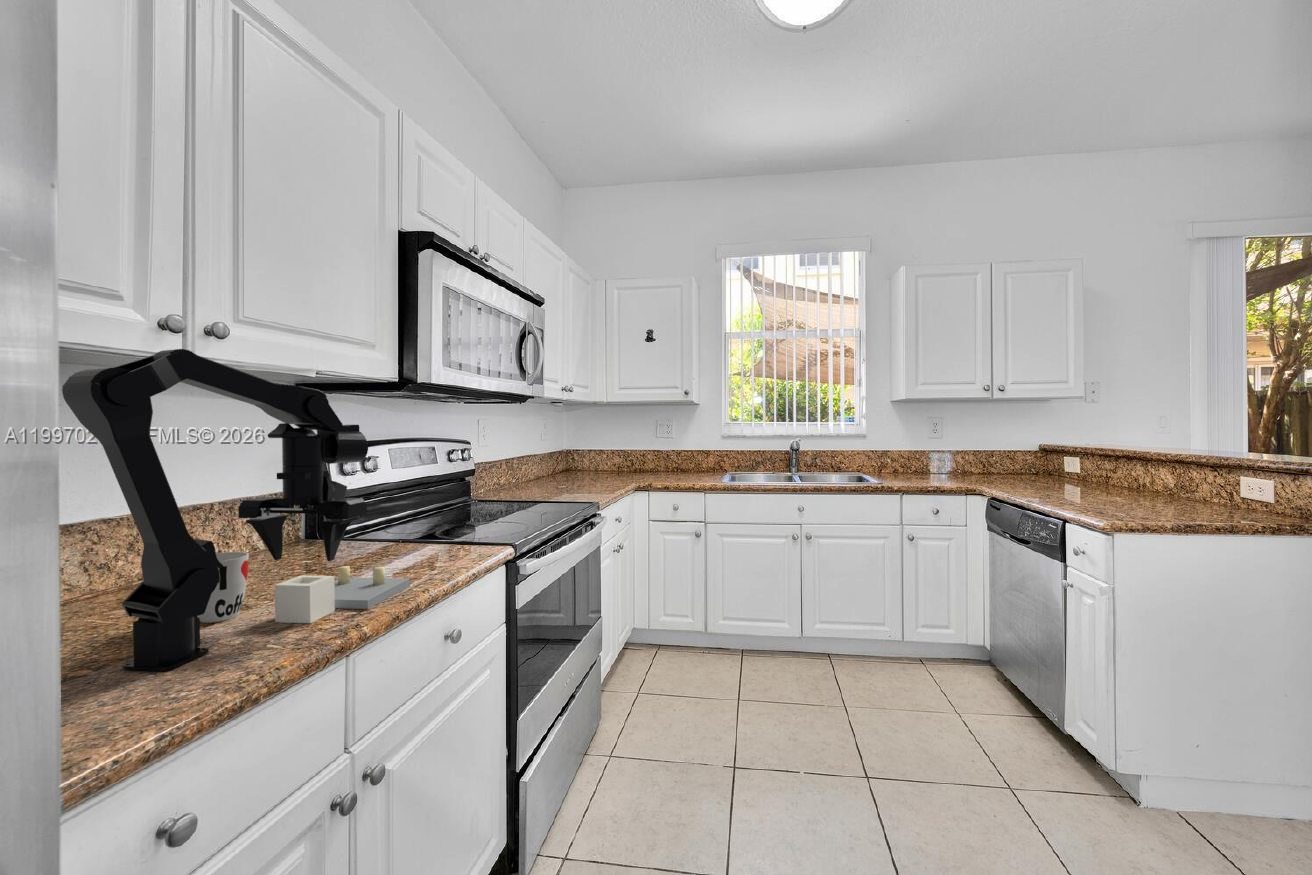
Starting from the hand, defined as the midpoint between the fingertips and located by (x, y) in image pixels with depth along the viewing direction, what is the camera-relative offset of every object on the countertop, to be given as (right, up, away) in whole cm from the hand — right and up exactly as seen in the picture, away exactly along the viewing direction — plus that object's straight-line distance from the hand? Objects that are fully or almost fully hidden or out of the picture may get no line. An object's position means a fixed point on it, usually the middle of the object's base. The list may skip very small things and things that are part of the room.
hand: (304, 560), depth 94 cm
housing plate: (+2, -9, +12) cm, 15 cm away
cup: (-14, -10, 0) cm, 17 cm away
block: (0, -9, 0) cm, 9 cm away
